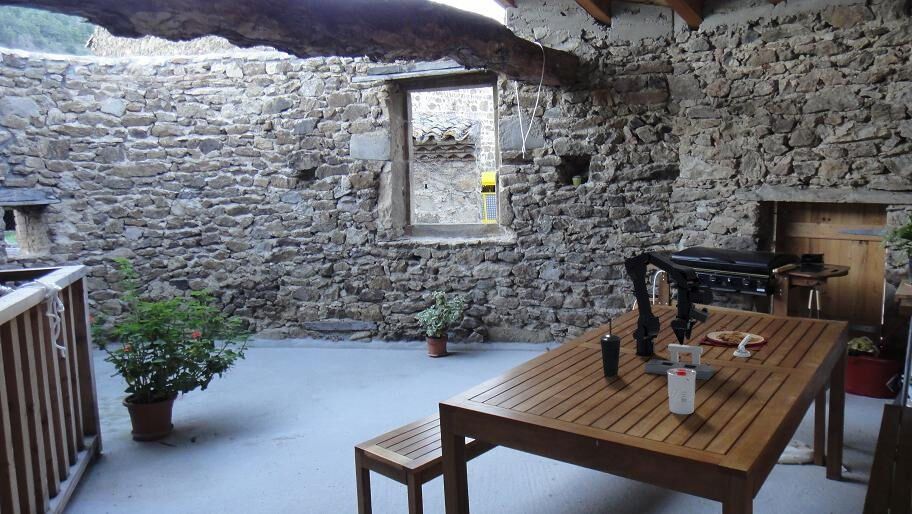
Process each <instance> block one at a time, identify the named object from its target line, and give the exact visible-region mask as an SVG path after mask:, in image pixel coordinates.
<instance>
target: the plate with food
mask: <svg viewBox="0 0 912 514" xmlns="http://www.w3.org/2000/svg"><path fill="white" fill-rule="evenodd" d="M720 327H721V328H722V329H720V330H719V328H716V330H715V331H712V332H707V333H706V334H705V336H704V337H702V338H701V340H697V342H698V343H702V344H705V345H710V346H719V347H725V348H726V349H728V348H732V349H738V346H739V344H740V343H741V342H742V341H743V339H744V338H745V337H746V336H747V335H748V334H749V335H750V336H751V338H750V340H749V341H748V342H747V343H746V344H745V345H744V347H745V349H747V351H749V350H750V351H752V350H754V351H761V350H762V349H761V347H764V348H765V347H766V346H767V344H766V342H769V341H770V338H769V337H766V336H764V337H763V336H761V335H758V334H756V333H750V332H745V331H744V332H742V331H741V330H738V329H735V330H734V329H733V330H731V329H729V330H728V329H727V328H728V327H727V326H724V325H720ZM725 329H727V330H725Z"/></svg>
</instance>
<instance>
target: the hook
mask: <svg viewBox="0 0 912 514" xmlns="http://www.w3.org/2000/svg"><path fill="white" fill-rule="evenodd" d="M750 338H751V336H750V335H749V334H748V335H747V336H746V337H745V338H744V339H743V341H742V342H741V343H740V344H739V346H738V348H737V349H736V350H734V352H733V356H735V357H740V358H748V357H751V352H750V351H749V350H746V348H745V347H744V345H745V344H746V343H747V342H748V341H749V340H750Z"/></svg>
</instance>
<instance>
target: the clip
mask: <svg viewBox="0 0 912 514" xmlns="http://www.w3.org/2000/svg"><path fill="white" fill-rule="evenodd" d="M703 348H704V347H703V346H699V345H698V346H697V345H686V344H683V345H680V344H678V343H669V344H668V345H667V351H669V352H670V353H669V354H670V355H669V356H670V357H669V358H670V360H669V361H672V362H679V360H680V359H679V357H680V356H679V353H690V354H691V355H692V356H691V359H692V360H691V364H699V365H701V355H702V354H703V352H704V351H703Z"/></svg>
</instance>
